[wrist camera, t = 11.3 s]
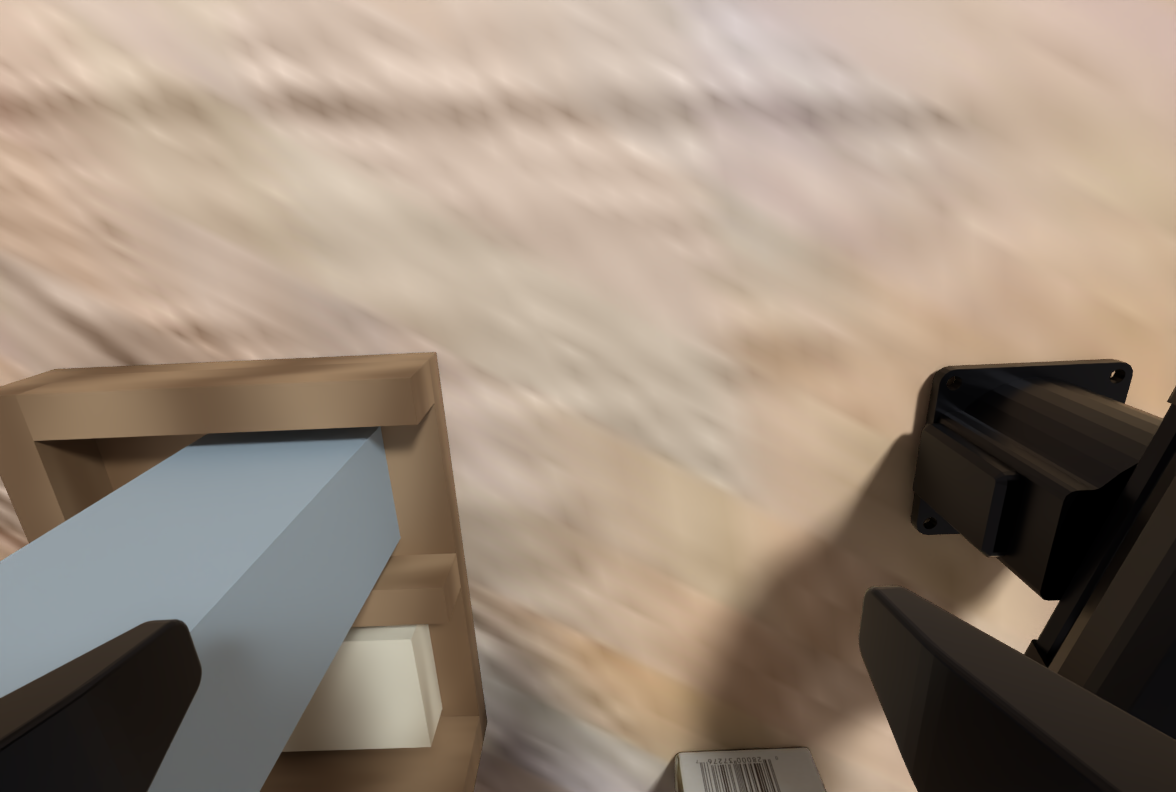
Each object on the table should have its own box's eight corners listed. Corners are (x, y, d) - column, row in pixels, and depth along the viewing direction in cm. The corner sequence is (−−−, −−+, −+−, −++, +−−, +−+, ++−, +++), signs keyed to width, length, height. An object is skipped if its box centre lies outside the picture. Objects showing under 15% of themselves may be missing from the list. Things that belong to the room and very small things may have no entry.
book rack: (436, 352, 20) (296, 492, 10) (487, 722, 25) (426, 1032, 16) (55, 369, 20) (-422, 521, 11) (188, 731, 26) (-47, 1043, 16)
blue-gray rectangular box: (380, 425, 20) (94, 735, 8) (400, 538, 21) (181, 932, 10) (208, 432, 20) (-305, 749, 8) (240, 544, 21) (-160, 941, 10)
